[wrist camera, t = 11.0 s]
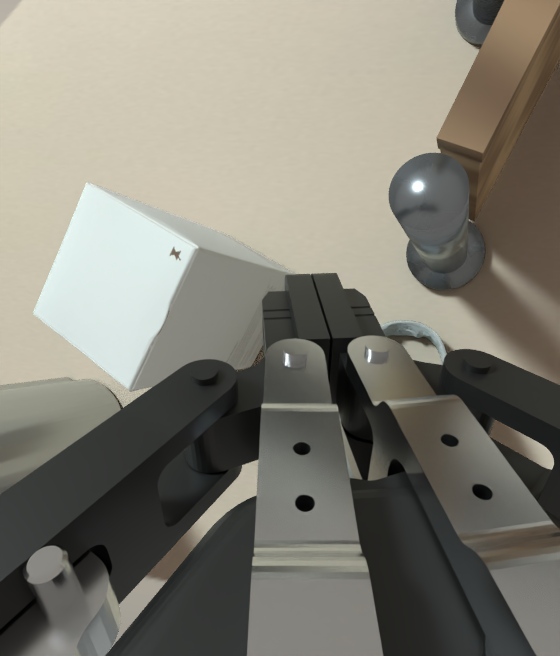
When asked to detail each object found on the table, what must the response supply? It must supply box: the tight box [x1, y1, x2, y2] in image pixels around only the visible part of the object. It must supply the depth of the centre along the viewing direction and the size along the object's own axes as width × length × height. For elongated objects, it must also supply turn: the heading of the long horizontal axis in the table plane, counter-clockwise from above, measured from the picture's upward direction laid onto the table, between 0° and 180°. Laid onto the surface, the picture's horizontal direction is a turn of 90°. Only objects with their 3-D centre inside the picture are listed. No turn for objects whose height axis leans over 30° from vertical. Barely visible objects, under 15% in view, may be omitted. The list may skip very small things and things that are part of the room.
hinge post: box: [389, 153, 485, 290], centre depth 25 cm, size 5×5×16 cm
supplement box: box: [33, 182, 295, 392], centre depth 32 cm, size 9×9×15 cm
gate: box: [437, 0, 560, 221], centre depth 23 cm, size 18×3×14 cm, turn 153°
